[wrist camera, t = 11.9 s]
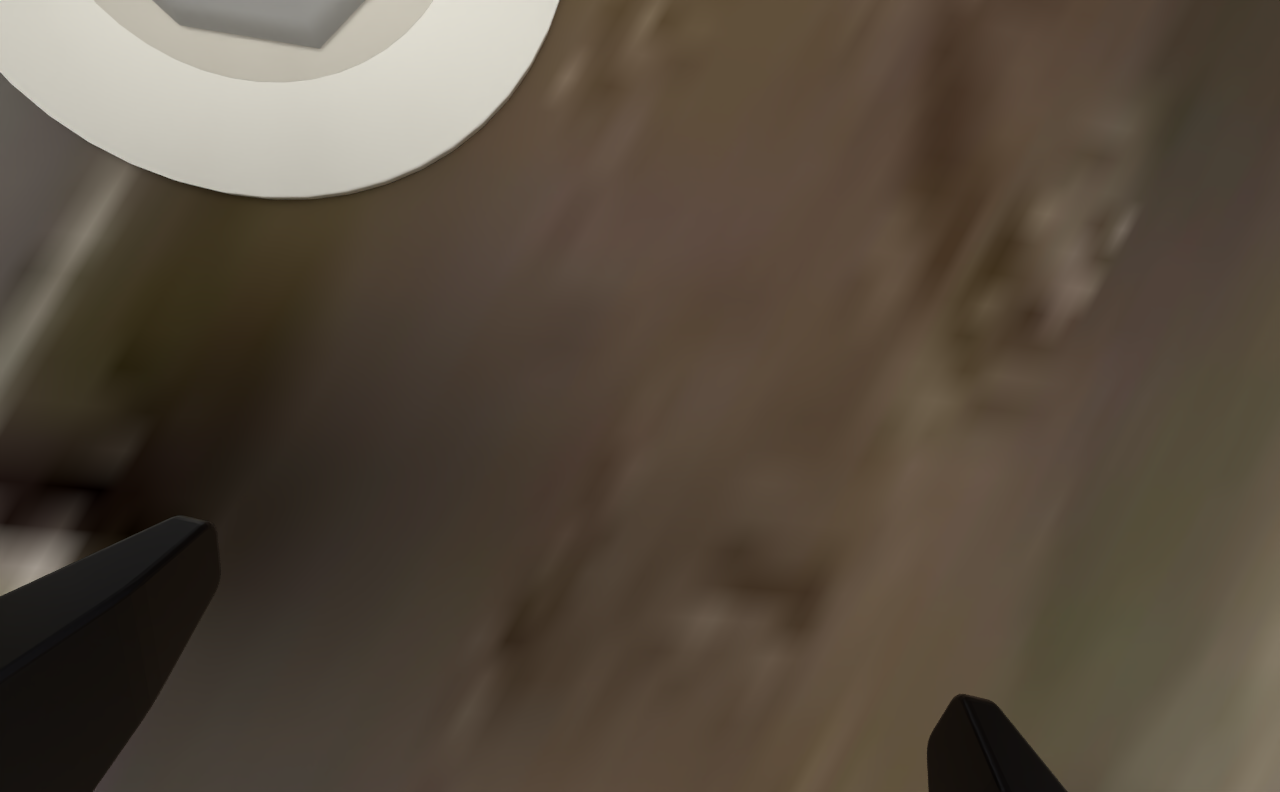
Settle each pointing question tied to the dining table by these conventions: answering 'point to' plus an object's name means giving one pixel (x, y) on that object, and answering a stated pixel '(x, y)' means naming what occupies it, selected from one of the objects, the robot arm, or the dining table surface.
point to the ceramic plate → (274, 89)
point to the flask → (265, 17)
